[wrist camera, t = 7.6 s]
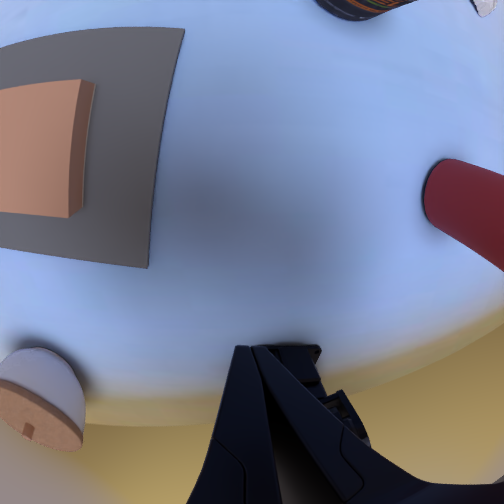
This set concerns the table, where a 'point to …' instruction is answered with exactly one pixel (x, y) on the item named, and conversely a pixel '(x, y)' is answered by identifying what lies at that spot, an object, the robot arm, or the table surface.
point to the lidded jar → (42, 398)
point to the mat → (101, 138)
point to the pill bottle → (361, 7)
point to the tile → (44, 147)
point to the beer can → (468, 207)
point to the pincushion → (485, 6)
